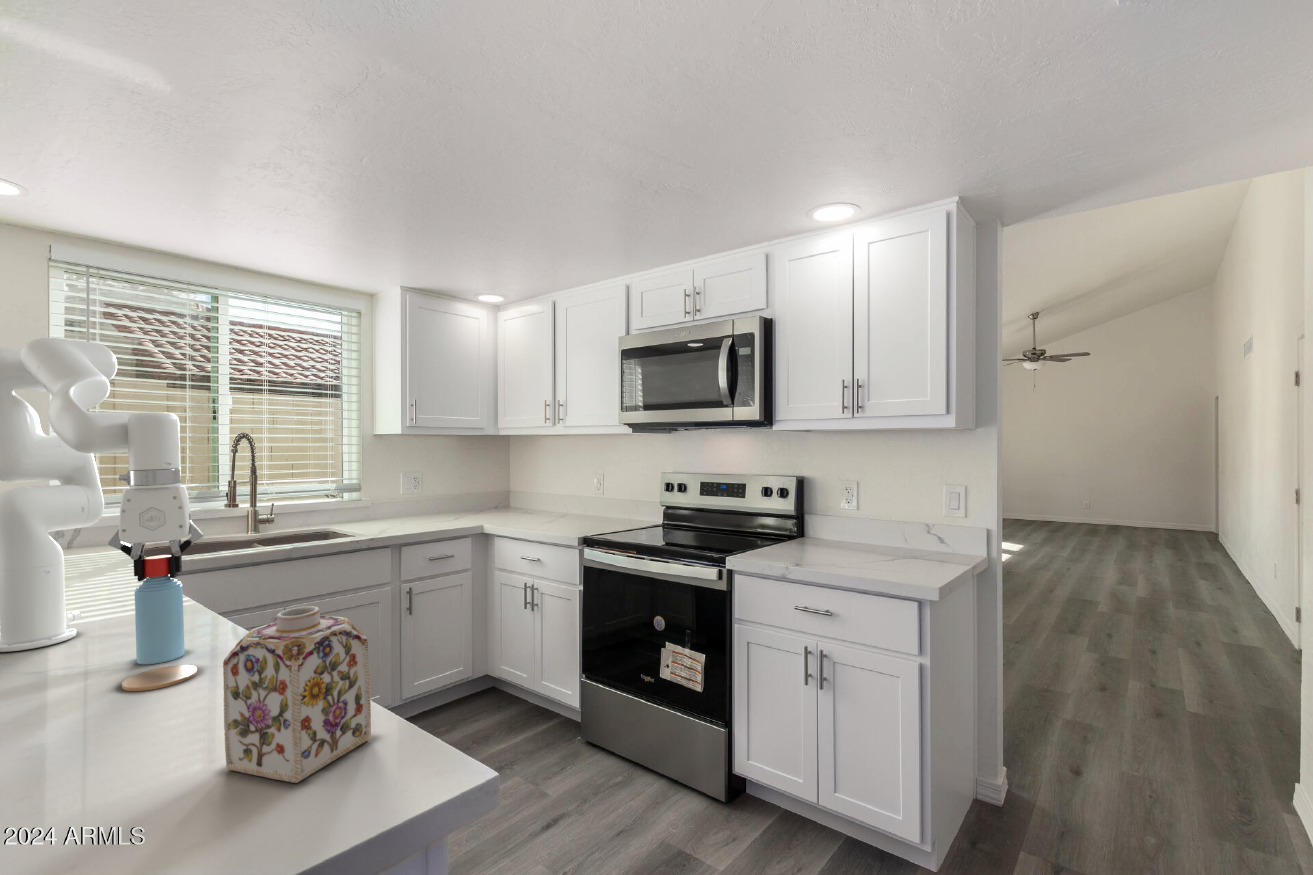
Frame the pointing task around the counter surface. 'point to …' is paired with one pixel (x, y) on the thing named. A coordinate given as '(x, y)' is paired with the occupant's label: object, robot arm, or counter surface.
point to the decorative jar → (296, 695)
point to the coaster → (159, 678)
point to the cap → (156, 566)
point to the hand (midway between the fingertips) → (158, 577)
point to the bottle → (159, 620)
